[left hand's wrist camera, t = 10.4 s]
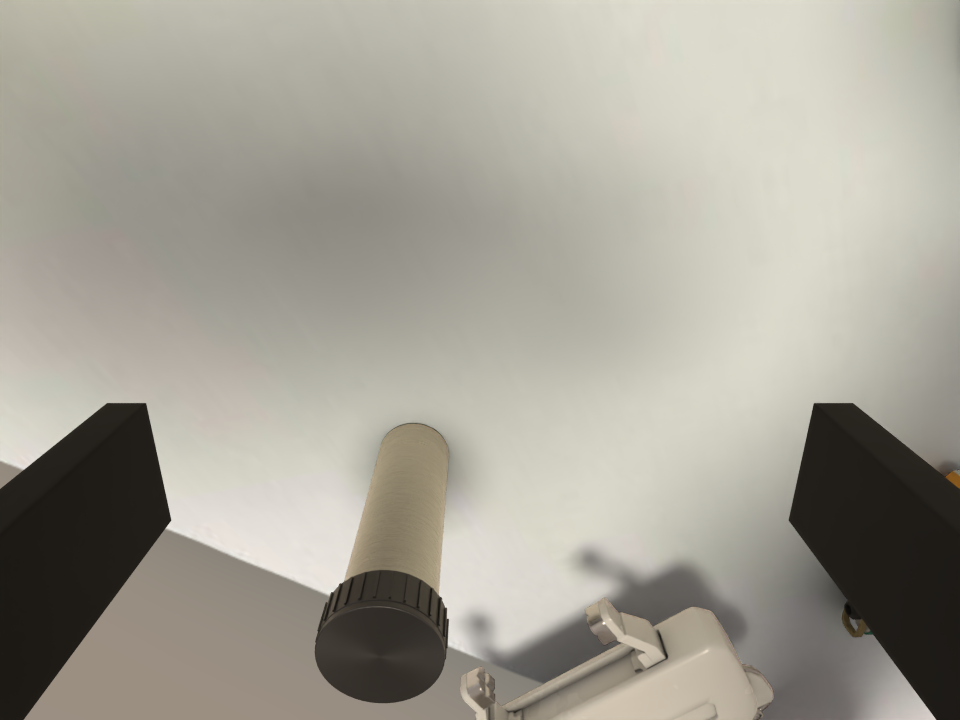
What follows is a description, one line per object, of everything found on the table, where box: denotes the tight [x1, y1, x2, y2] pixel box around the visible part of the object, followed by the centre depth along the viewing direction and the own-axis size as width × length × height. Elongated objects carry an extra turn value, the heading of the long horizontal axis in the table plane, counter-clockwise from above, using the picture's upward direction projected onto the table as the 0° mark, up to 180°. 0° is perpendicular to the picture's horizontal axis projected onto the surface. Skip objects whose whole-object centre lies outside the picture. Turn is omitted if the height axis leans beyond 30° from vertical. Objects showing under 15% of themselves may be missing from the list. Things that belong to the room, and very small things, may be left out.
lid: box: [315, 570, 449, 703], centre depth 27 cm, size 6×6×2 cm
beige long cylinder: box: [344, 424, 449, 595], centre depth 34 cm, size 4×4×16 cm
